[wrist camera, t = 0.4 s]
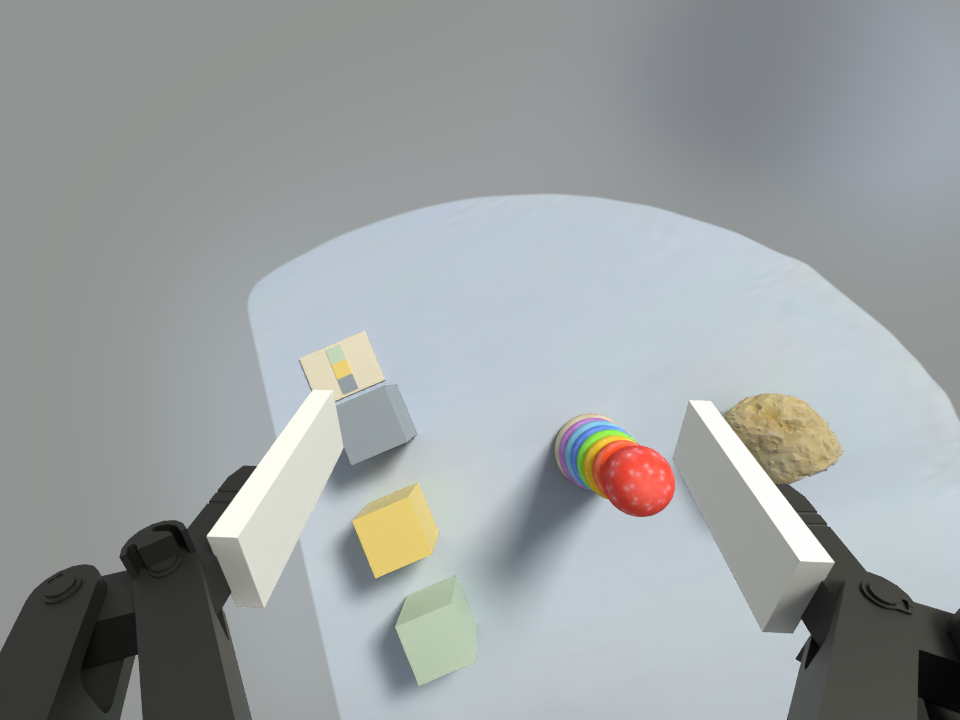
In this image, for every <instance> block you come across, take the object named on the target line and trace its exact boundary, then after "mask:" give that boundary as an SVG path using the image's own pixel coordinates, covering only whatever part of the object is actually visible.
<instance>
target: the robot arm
mask: <svg viewBox="0 0 960 720" xmlns="http://www.w3.org/2000/svg"><path fill="white" fill-rule="evenodd" d="M343 448H344V447H343V442H342V436H341V431H340V425H339V420H338V414H337V409H336V403H335V398H334V393H333V390H312V392H311V393H310V394H309V396H308V397H307V399H306V400H305V401H304V403H303V404H302V405H301V407H300V408H299V410H298V411H297V412H296V414H295V415H294V416H293V418H292V419H291V421H290V422H289V423H288V425H287V426H286V427H285V429H284V430H283V432H282V433H281V434H280V436H279V437H278V438H277V440H276V441H275V443H274V444H273V446H272V447H271V448H270V449H269V451H268V452H267V454H266V455H265V456H264V458H263V459H262V461H261V462H260V463H259V465H258V466H243V467H241V468H240V469H239V470H237V471H236V472H235V473H233V474H232V475H230V476H229V477H228V478H227V479H226V481H225V482H224V483H223V484H222V486H221V487H220V488H219V489H218V492H217V493H215V495H214V496H213V497H212V498H211V500H210V501H209V504H207V505H206V506H205V507H204V509H203V510H202V511H201V512H200V514H199V515H198V516H197V517H196V519H195V520H194V521H193V522H192V524H191V525H190V526H189V528H188V529H186V527H185V526H184V524H183V523H181V522H178V521H176V520H171V521H162V522H159V523H155V524H152V525H150V526H148V527H146V528H144V529H142V530H140V531H139V532H137V534H135V535H134V536H133V537H131V538H130V539H129V540H128V541H127V542H126V544H125V545H124V546H123V548H122V550H121V553H120V559H121V561H122V562H123V564H124V566H125V568H126V569H127V571H122V572H118V573H113V574H110V575H105V576H101V575H100V573H99V571H98V570H97V569H96V568H95V567H94V566H92V565H86V564H84V565H78V566H72V567H70V568H67V569H65V570H62V571H60V572H58V573H56V574H54V575H53V576H51V577H49V578H48V579H46V580H45V581H44V582H43V583H41V584H40V585H39V586H38V587H37V588H36V589H34V590H33V592H32V593H31V594H30V596H29V597H28V599H27V600H26V602H25V604H24V606H23V608H22V610H21V612H20V614H19V616H18V618H17V620H16V622H15V624H14V626H13V628H12V630H11V632H10V634H9V636H8V638H7V640H6V642H5V644H4V646H3V648H2V650H1V652H0V720H120V717H121V713H122V708H123V704H124V700H125V695H126V692H127V688H128V684H129V680H130V675H131V671H132V667H133V663H134V659H135V655H138V658H139V671H140V686H141V700H142V714H143V720H252V718H251V714H250V710H249V706H248V702H247V698H246V694H245V691H244V687H243V683H242V679H241V675H240V671H239V667H238V663H237V659H236V656H235V651H234V647H233V644H232V639H231V636H230V632H229V628H228V624H227V620H226V616H225V613H224V611H223V609H222V607H223V606H224V604H225V602H226V600H227V599H228V597H229V595H230V594H231V596H232V598H233V600H234V603H235V605H236V607H251V608H264V607H265V605H266V603H267V601H268V599H269V597H270V595H271V593H272V591H273V589H274V587H275V585H276V583H277V581H278V579H279V577H280V575H281V573H282V571H283V569H284V567H285V565H286V563H287V561H288V559H289V557H290V555H291V553H292V551H293V549H294V547H295V545H296V543H297V541H298V539H299V537H300V535H301V533H302V531H303V529H304V527H305V525H306V523H307V521H308V519H309V517H310V515H311V513H312V511H313V509H314V507H315V505H316V503H317V501H318V499H319V497H320V495H321V493H322V491H323V489H324V487H325V485H326V482H327V480H328V478H329V476H330V474H331V472H332V470H333V468H334V466H335V464H336V462H337V460H338V458H339V456H340V454H341V452H342V450H343ZM673 461H674V463H675V464H676V466H677V468H678V470H679V472H680V474H681V476H682V478H683V480H684V482H685V484H686V486H687V488H688V489H689V491H690V493H691V495H692V497H693V499H694V501H695V503H696V505H697V507H698V509H699V511H700V513H701V515H702V516H703V518H704V520H705V522H706V524H707V526H708V528H709V530H710V532H711V534H712V536H713V538H714V540H715V541H716V543H717V545H718V547H719V549H720V551H721V553H722V555H723V557H724V559H725V561H726V563H727V565H728V567H729V568H730V570H731V572H732V574H733V576H734V578H735V580H736V582H737V584H738V586H739V588H740V590H741V592H742V593H743V595H744V597H745V599H746V601H747V603H748V605H749V607H750V609H751V611H752V613H753V615H754V617H755V619H756V620H757V622H758V624H759V626H760V628H761V630H762V632H775V633H793V632H794V631H795V629H796V627H797V626H798V624H799V622H800V620H801V619H802V621H803V622H804V624H805V625H806V627H807V629H808V630H809V632H810V634H811V635H810V637H809V638H808V640H807V641H806V643H805V645H804V646H803V648H802V649H801V651H800V652H799V654H798V656H797V657H796V660H798V661H800V662H801V665H800V669H799V673H798V677H797V681H796V685H795V689H794V693H793V697H792V701H791V705H790V709H789V713H788V717H787V720H960V609H959V610H958V611H957V612H956V613H955V614H952V613H949V612H946V611H942V610H939V609H935V608H932V607H929V606H925V605H922V604H919V603H915V602H913V601H912V599H911V598H910V597H909V596H908V595H907V594H906V593H905V592H904V591H903V590H901V589H900V588H899V587H898V586H897V585H895V584H893V583H892V582H890V581H888V580H887V579H885V578H883V577H881V576H878V575H875V574H873V573H870V572H867V571H866V570H865V569H864V568H863V567H862V565H861V564H860V563H859V562H858V560H857V559H856V558H855V557H854V556H853V554H852V553H851V552H850V551H849V550H848V548H847V547H846V546H845V545H844V544H843V542H842V541H841V540H840V539H839V537H838V536H837V535H836V534H835V533H834V531H833V530H832V529H831V528H830V527H828V526H827V523H826V522H825V521H824V519H823V518H822V517H821V516H820V515H819V514H817V511H816V510H815V508H814V507H813V506H812V505H811V504H810V502H809V501H808V500H807V499H806V498H805V497H804V496H803V495H802V494H800V493H799V492H798V491H796V490H795V489H794V488H792V487H791V486H790V485H788V484H777V483H773V482H772V480H771V479H770V478H769V476H768V475H767V474H766V472H765V471H764V470H763V469H762V467H761V466H760V465H759V463H758V462H757V461H756V459H755V458H754V457H753V456H752V454H751V453H750V452H749V450H748V449H747V448H746V446H745V445H744V444H743V443H742V441H741V440H740V439H739V437H738V436H737V435H736V433H735V432H734V431H733V430H732V428H731V427H730V426H729V424H728V423H727V422H726V421H725V419H724V418H723V417H722V415H721V414H720V413H719V411H718V410H717V409H716V408H715V406H714V405H713V404H712V402H711V401H692V400H689V402H688V406H687V410H686V413H685V417H684V420H683V424H682V428H681V431H680V435H679V438H678V442H677V445H676V449H675V453H674V456H673Z"/></svg>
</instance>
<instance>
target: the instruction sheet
mask: <svg viewBox="0 0 960 720" xmlns="http://www.w3.org/2000/svg"><path fill="white" fill-rule="evenodd" d="M300 361H301V364H302V366H303V369H304V371H305V374H306V376H307V379H308V381H309V384H310V386H311V389H312V390H333V393H334V398H335V401H337V400H339V399H341V398H344V397H346V396H348V395H351V394H353V393H355V392H358V391H360V390H362V389H365V388H367V387H370V386H372V385H374V384H377V383H379V382H381V381H384V380H385V378H384V376H383V373H382V371H381V368H380V366H379V364H378V361H377V359H376V356H375V354H374V352H373V349H372V347H371V344H370V342H369V340H368V337H367V335H366V332H365V331H363V332H361V333H358V334H356V335H354V336H351V337H349V338H347V339H344V340H342V341H340V342H337V343H335V344H333V345H330V346H328V347H326V348H323V349H321V350H319V351H316V352H314V353H311V354H309V355H307V356H304V357H302V358H300Z"/></svg>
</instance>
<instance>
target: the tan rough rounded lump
mask: <svg viewBox="0 0 960 720" xmlns="http://www.w3.org/2000/svg"><path fill="white" fill-rule="evenodd" d="M722 417H723V418H724V419H725V421H726V422H727V423H728V424H729V426H730V427H731V428H732V430H733V431H734V432H735V433H736V435H737V436H738V437H739V439H740V440H741V441H742V443H743V444H744V445H745V446H746V448H747V449H748V450H749V452H750V453H751V454H752V456H753V457H754V458H755V459H756V461H757V462H758V463H759V465H760V466H761V467H762V469H763V470H764V471H765V472H766V474H767V475H768V476H769V478H770V479H771V480H772V482H773V483H777V484H791V483H794V482H796V481H799V480H801V479H803V478H804V477H806V476H809V477H810V476H813V475H815V474H818V473H820V472H823V471H827V469H828V468H829V467H830V466H831V465H834V464H835V463H836V462H837V461H838V459H839V458H840V456H841V455H842V452H843V449H842V447H841V446H840V443H839V442H838V441H837V437H836V436H835V434H834V433H833V432H832V431H831V430H830V428H829V426H828V423H827V422H826V421H824V419H823V418H822V417H820V416H819V415H818V413H817V412H816V411H814V410H813V409H812V408H811V407H810V406H809V405H808V403H806V402H805V401H802V400H799V399H798V398H796V397H793V396H787V395H783V394H760V395H757V396H751V397H746V398H745V399H744V400H742V401H740V402H739V403H738V404H737V405H736V406H735V407H733V408H732V409H730V410H729V411H728V412H727V413H726V414H725V415H723V416H722Z"/></svg>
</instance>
